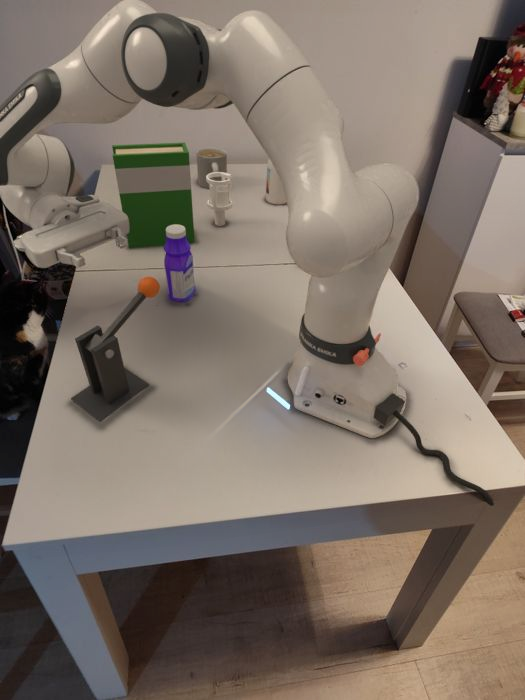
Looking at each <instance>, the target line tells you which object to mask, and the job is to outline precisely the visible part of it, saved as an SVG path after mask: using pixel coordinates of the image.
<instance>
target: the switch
mask: <svg viewBox="0 0 525 700" xmlns="http://www.w3.org/2000/svg"><path fill="white" fill-rule="evenodd" d="M160 288H161V287H160V282H159V280H157V279H156V278H155V277H153V276H144V277H142V278H141V279H140V280H139V282H138V283H137V289H138V293H137V294H136V295H135V296H134V297H133V298H132V299H131V301H130V302H129V303H128V304H127V306H126V307H125V308H124V309H123V310H122V312H120V314H119V315H118V316H117V317H116V318H115V320H114V321H113V322H112V323H111V324H110V325H109V327H108V328H107V329H106V330H105V331H104V332H103V335H102V336H101V337H100V336H99V335H97V334H95V335H94V337H93V338H92V339H91V340H90V341H89V342H88V344H87V345H86V346H85V348H86V349H87V350H89V351H90V352H91V349H92V348H94V347H95V346H97V345H99V344H100V343H102V342H104V341H105V340H107V339H108V338H110V337H112V336H115V335H116V334H117V332H118V331H119V330H120V329H121V328H122V326H123V325H125V323H126V322H127V320H129V318H130V317H131V316H132V315H133V314H134V312H135V311H136V310H137V309H138V308H139V306H141V304H142V303H143V302H144V300H145V299H146V298H147V299H151V298H154V297H156V296H157V295H158V294H159V293H160ZM91 353H92V352H91Z"/></svg>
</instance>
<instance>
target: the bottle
mask: <svg viewBox="0 0 525 700" xmlns="http://www.w3.org/2000/svg"><path fill="white" fill-rule="evenodd" d="M191 248H192V246H191V243H189V242H188V241H187V238H186V231H185V227H184V226H182V225H178V224H175V225H170V226H168V227H167V228H166V244H165V245H163V250H164V253H165V254H164V264H163V265H164V273H165V279H166V287H167V297H168V299H169V300H170V301H173V302H178V303H185V302H188V301H190V300H191V299H192V298H193V296H194V295H195V293H196V284H195V283H196V282H195V271H194V255H193V254H192V251H191Z"/></svg>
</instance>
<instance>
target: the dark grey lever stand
mask: <svg viewBox="0 0 525 700" xmlns="http://www.w3.org/2000/svg"><path fill="white" fill-rule="evenodd" d="M95 334H97V335H99V336H100V337H101V336H102V335H103V334H104V332H103V329H102V327H101V326H100V325H96V326H94V327H93V328H91V329H88V330H87V331H86V332H84V333H82V334H81V335H78V336H77V337H75V338H74V340H75V344H76V346H77V350H78V353H79V357H80V360H81V362H82V365H83V369H84V371H85V375H86V377H87V381H88V384H89V385H88V386H86V388H83V390H81V391H79V392H78V393H76V394H75V395H73V396H72V397H70V400H71V401H72V402H73V403H75V404H76V405H77V406H78V407H80V408H81V409H82V410H84V411H85V412H86V413H88V414H89V415H90V416H92V417H93V418H94V419H95V420H97V421H98V422H99V423H100V422H102V421H103V420H105V419H106V418H107V417H108V416H110V415H112V414H113V413H114V412H115V411H117V410H118V409H119V408H121V407H122V406H123V405H125V404H126V403H127V402H129V401H130V400H131V399H133V398H135V397H136V396H137V395H138V394H139V393H141V392H142V391H143V390H145V389H146V388H147V387H149V386H150V383H148V382H147V381H145V380H143V379H142V378H141V377H139V376H137V375H136V374H134V372H132V371H130V370H129V369H127V368H126V367H125V366H124V364H125V363H124V361H123V356H122V352H121V348H120V347H121V346H120V343H119V340H118V339H119V338H118V337H117V336H115V335H114V336H112V337H110V338H108V339H107V340H105V341H104V342H102V343H100V344H99V345H97V346H95V347H94V348H92V349H91V352H92V353H91V352H90V351H89V350H87V349H86V348H85V346H86V345H87V344H88V342H89V341H90V340H91V339H92V338H93V337H94V335H95Z"/></svg>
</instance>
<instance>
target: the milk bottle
mask: <svg viewBox="0 0 525 700" xmlns="http://www.w3.org/2000/svg"><path fill="white" fill-rule="evenodd" d="M266 166H267V167H266V181H265V182H266V183H265V200H266V202H268V203H269V204H272V205H286V204H287V200H286V196H285V192H284V189H283V186H282V183H281V180H280V178H279V175H278V173H277V171H276V169H275V167H274V166H273V164H272V162H271V161H270V159H269V158H268V161H267V165H266Z"/></svg>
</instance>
